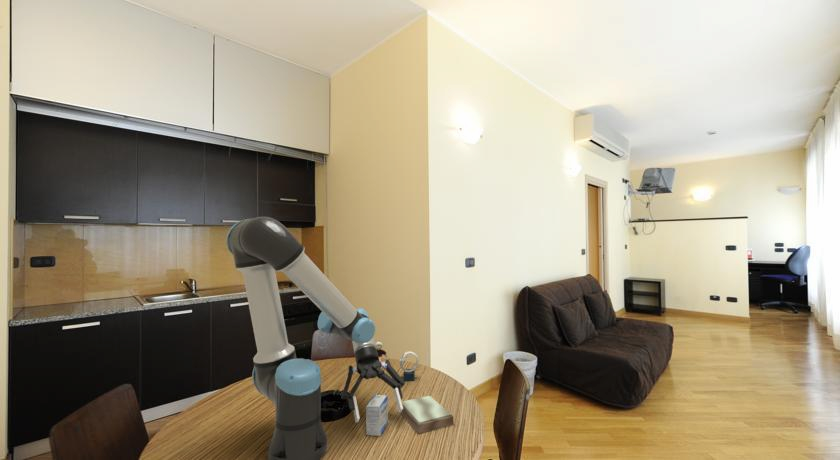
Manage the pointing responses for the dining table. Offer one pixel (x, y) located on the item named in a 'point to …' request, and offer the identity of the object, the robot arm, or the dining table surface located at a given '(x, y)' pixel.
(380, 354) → the grandmother figurine
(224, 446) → the dining table surface
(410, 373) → the watch
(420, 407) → the platform
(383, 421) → the medicine box
